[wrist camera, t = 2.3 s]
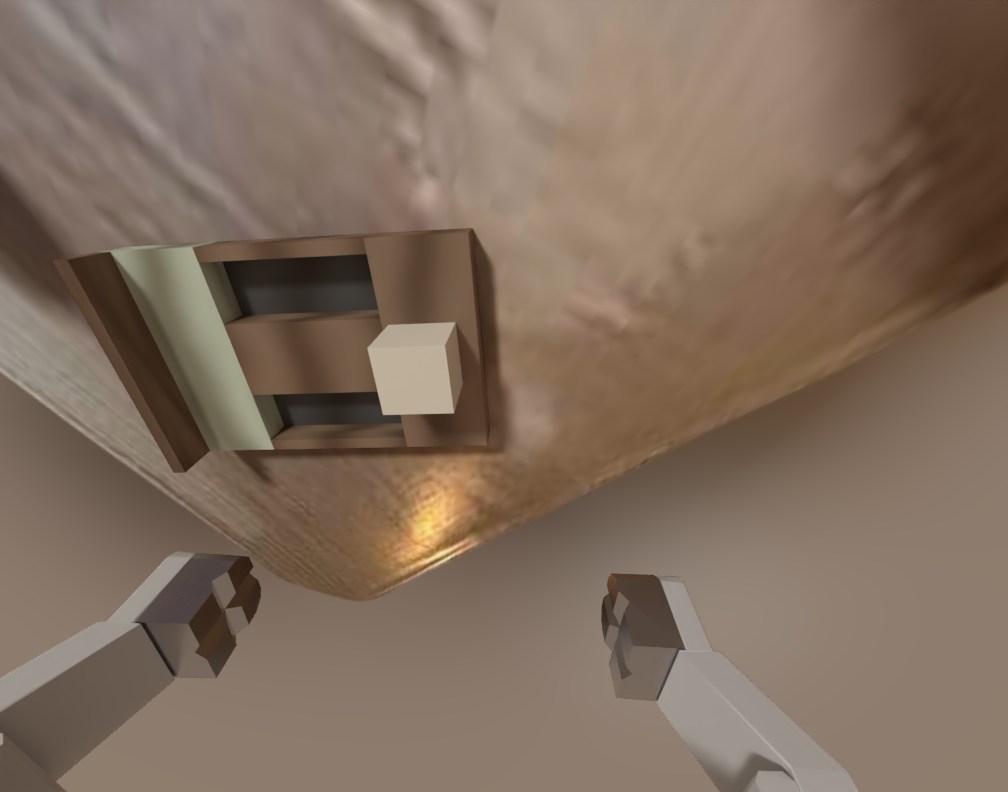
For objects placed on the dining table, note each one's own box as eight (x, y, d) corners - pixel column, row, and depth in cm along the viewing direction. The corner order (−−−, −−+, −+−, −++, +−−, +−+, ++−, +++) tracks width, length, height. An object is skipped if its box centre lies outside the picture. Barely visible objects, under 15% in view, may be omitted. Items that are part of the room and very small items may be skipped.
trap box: (472, 228, 28) (461, 239, 24) (489, 429, 36) (484, 467, 32) (127, 246, 30) (52, 260, 25) (217, 435, 38) (173, 472, 33)
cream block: (455, 322, 29) (444, 345, 25) (462, 383, 32) (454, 413, 28) (388, 324, 29) (367, 348, 26) (400, 385, 32) (382, 415, 28)
